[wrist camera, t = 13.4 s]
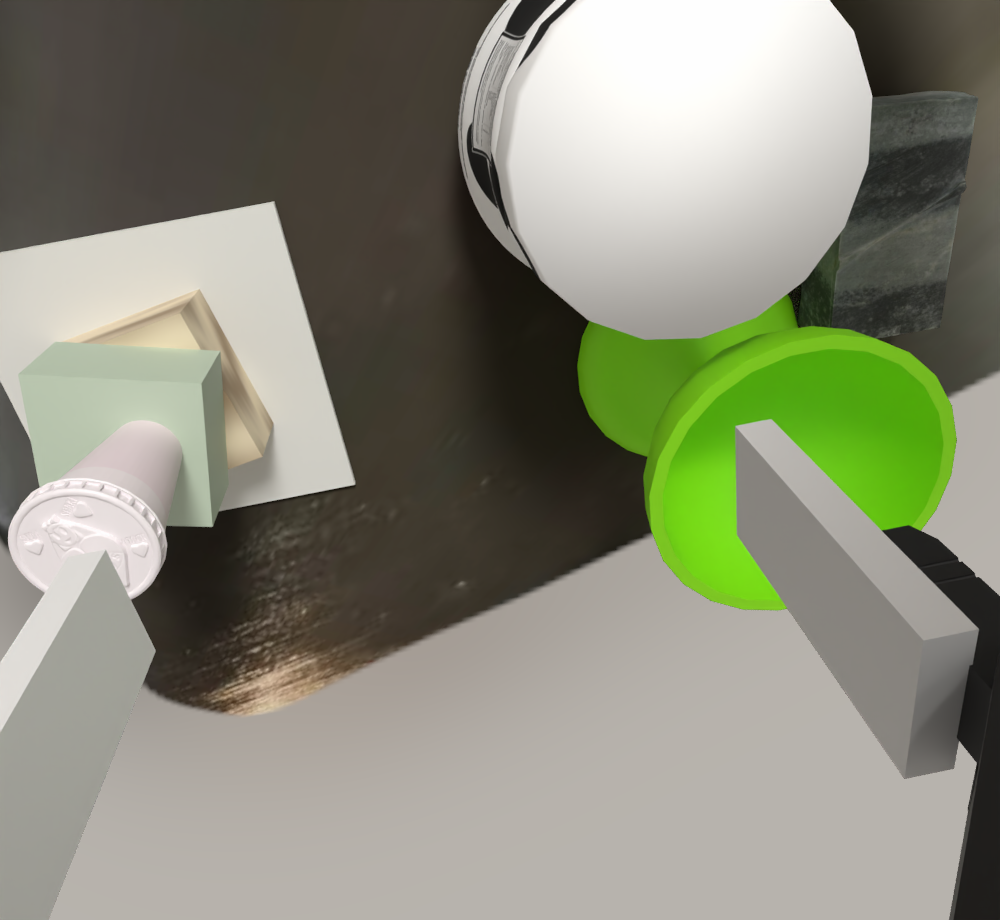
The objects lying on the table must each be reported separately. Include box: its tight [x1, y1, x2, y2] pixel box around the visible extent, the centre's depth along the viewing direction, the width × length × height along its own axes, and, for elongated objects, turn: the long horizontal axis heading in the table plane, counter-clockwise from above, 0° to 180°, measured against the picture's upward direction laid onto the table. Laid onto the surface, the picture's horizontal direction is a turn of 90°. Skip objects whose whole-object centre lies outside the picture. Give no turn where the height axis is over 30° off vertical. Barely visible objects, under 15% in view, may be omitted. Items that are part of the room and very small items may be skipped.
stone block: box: [797, 91, 978, 339], centre depth 50 cm, size 9×14×5 cm, turn 5°
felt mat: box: [0, 201, 355, 511], centre depth 52 cm, size 20×20×1 cm
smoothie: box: [8, 420, 182, 600], centre depth 37 cm, size 6×6×14 cm
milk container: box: [458, 0, 872, 340], centre depth 40 cm, size 17×17×18 cm
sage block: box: [18, 342, 229, 527], centre depth 45 cm, size 9×9×5 cm
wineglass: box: [577, 294, 957, 610], centre depth 48 cm, size 16×16×18 cm
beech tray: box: [62, 289, 273, 469], centre depth 49 cm, size 10×10×5 cm
